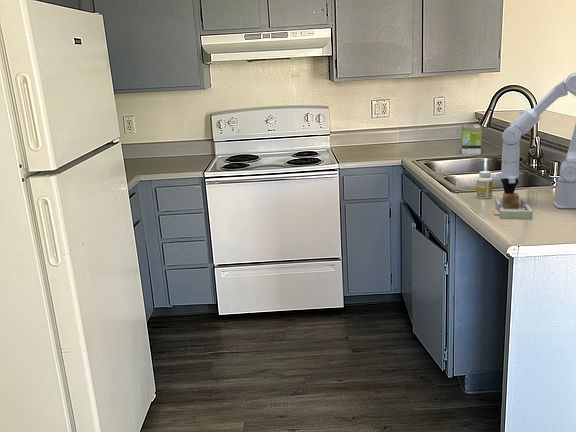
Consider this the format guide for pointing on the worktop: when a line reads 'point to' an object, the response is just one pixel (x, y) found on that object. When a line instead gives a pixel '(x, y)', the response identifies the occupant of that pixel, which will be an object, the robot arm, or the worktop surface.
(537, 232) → the worktop surface
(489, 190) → the supplement bottle
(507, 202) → the walnut block
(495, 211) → the channel
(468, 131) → the tea box
